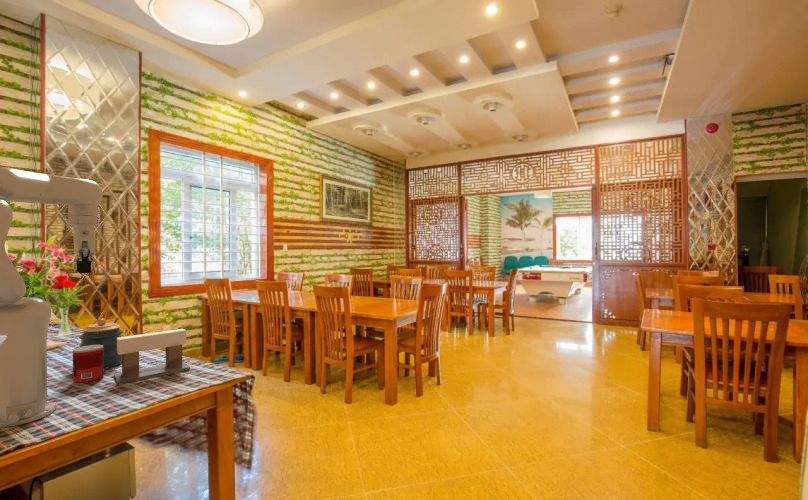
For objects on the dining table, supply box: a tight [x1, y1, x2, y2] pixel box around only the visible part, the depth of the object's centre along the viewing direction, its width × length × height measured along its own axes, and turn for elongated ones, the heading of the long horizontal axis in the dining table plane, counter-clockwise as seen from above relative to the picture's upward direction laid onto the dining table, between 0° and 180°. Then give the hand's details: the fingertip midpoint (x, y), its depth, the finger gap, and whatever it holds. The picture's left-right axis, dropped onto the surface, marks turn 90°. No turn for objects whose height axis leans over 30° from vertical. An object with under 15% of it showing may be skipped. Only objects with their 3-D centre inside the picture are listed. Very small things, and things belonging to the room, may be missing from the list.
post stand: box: [113, 344, 191, 386], centre depth 132 cm, size 10×21×9 cm, turn 134°
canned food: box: [72, 345, 105, 385], centre depth 126 cm, size 8×8×11 cm
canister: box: [78, 318, 124, 369], centre depth 141 cm, size 13×13×18 cm
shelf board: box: [117, 328, 187, 355], centre depth 132 cm, size 4×20×5 cm, turn 134°
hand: (83, 272), depth 125 cm, fingers open, 9 cm apart
